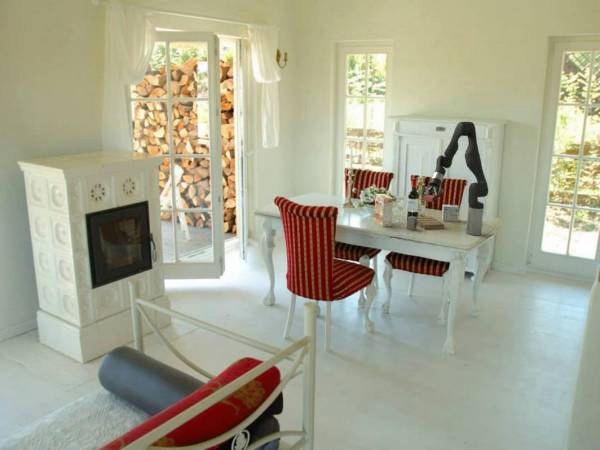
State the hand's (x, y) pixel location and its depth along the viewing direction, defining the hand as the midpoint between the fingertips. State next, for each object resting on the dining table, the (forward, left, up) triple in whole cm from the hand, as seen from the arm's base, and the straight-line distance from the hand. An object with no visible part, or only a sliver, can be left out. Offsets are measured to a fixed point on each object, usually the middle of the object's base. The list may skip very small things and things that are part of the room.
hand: (428, 200), depth 382 cm
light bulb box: (+12, -22, -18) cm, 31 cm away
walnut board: (+1, -1, -17) cm, 17 cm away
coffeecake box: (+7, +29, -18) cm, 35 cm away
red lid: (+1, -1, 0) cm, 2 cm away
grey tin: (-8, +14, -17) cm, 24 cm away
